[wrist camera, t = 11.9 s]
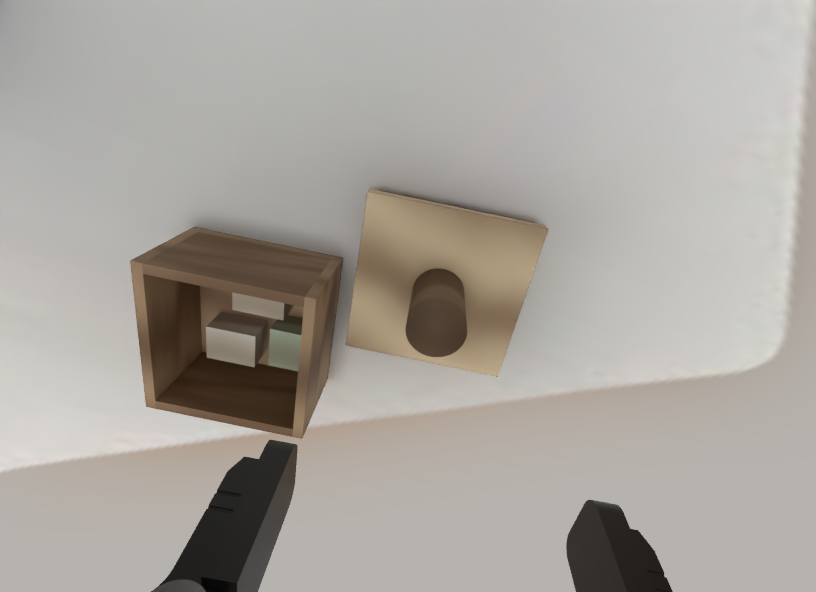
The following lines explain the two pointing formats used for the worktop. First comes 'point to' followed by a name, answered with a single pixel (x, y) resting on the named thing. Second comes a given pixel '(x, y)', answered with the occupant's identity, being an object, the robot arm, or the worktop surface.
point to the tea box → (235, 329)
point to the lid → (440, 281)
